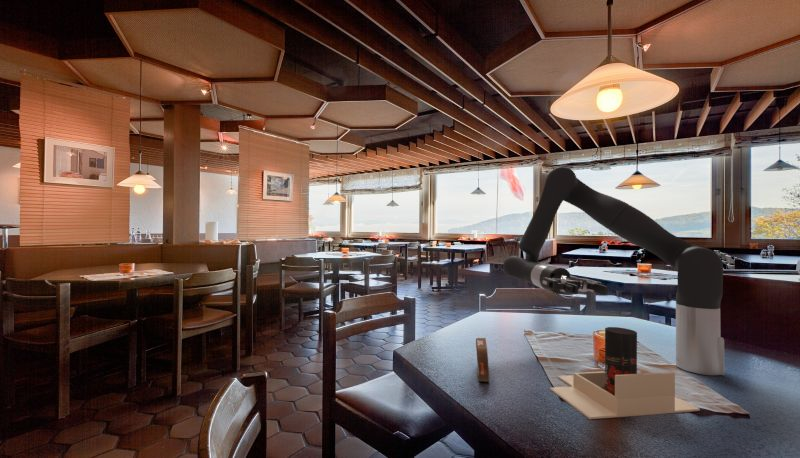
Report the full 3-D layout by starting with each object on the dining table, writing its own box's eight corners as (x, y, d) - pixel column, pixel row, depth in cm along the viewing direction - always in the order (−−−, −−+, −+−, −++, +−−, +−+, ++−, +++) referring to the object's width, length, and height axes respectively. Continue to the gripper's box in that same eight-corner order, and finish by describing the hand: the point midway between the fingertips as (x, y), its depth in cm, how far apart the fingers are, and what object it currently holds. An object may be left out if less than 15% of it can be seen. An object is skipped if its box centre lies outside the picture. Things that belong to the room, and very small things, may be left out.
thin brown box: (489, 388, 81) (490, 351, 81) (476, 386, 81) (476, 350, 82) (486, 364, 96) (487, 334, 96) (475, 363, 96) (475, 333, 96)
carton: (535, 378, 86) (536, 346, 87) (625, 374, 90) (625, 343, 91) (589, 419, 67) (589, 377, 68) (699, 410, 71) (699, 371, 72)
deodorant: (598, 393, 79) (599, 327, 79) (623, 393, 79) (623, 327, 79) (617, 406, 73) (617, 334, 73) (643, 405, 73) (643, 334, 74)
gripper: (529, 264, 100) (568, 274, 84) (572, 266, 103) (617, 276, 88) (527, 290, 101) (565, 305, 85) (570, 291, 104) (614, 305, 88)
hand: (591, 290), depth 86 cm, fingers open, 8 cm apart
